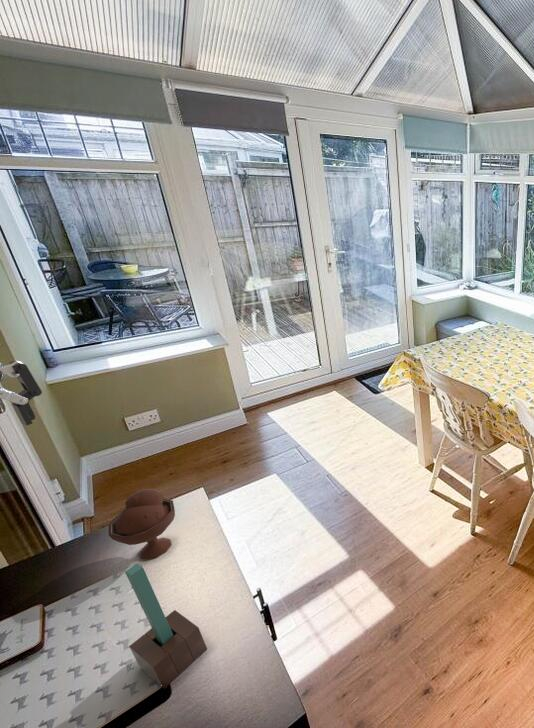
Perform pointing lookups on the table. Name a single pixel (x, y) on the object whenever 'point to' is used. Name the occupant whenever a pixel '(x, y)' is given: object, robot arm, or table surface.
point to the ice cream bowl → (144, 522)
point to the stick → (149, 603)
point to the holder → (169, 650)
